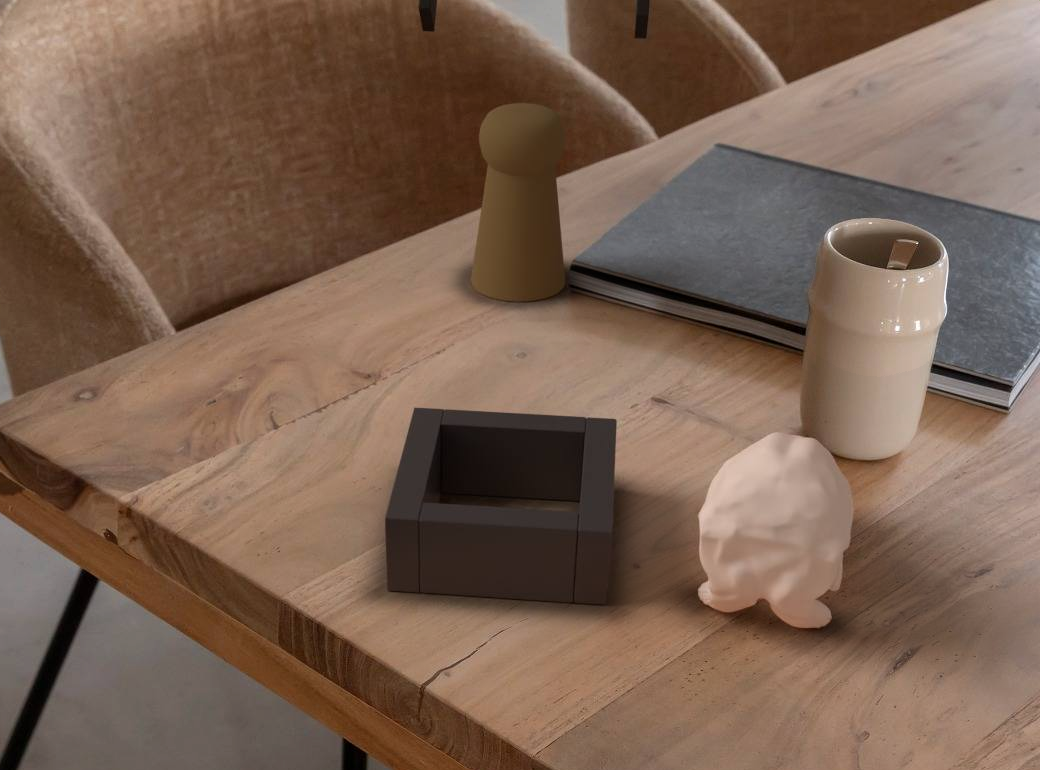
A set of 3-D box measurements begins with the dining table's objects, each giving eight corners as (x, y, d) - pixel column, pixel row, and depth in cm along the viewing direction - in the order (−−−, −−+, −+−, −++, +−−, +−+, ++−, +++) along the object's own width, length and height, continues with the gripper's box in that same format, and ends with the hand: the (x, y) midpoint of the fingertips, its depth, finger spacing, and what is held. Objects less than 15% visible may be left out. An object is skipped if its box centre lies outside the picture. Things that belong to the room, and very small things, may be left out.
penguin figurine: (700, 459, 59) (752, 356, 69) (676, 636, 64) (728, 515, 73) (859, 488, 57) (890, 378, 67) (823, 668, 62) (856, 540, 72)
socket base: (611, 487, 74) (616, 418, 72) (606, 605, 66) (612, 532, 64) (415, 475, 75) (414, 406, 72) (386, 591, 67) (384, 517, 65)
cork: (456, 292, 92) (457, 118, 86) (489, 256, 97) (492, 88, 90) (548, 307, 90) (555, 131, 84) (577, 269, 95) (586, 99, 88)
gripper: (360, -326, 93) (329, -16, 90) (758, -322, 91) (739, -3, 88) (375, -242, 100) (347, 47, 97) (744, -236, 98) (726, 60, 95)
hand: (533, 24), depth 93 cm, fingers open, 13 cm apart
